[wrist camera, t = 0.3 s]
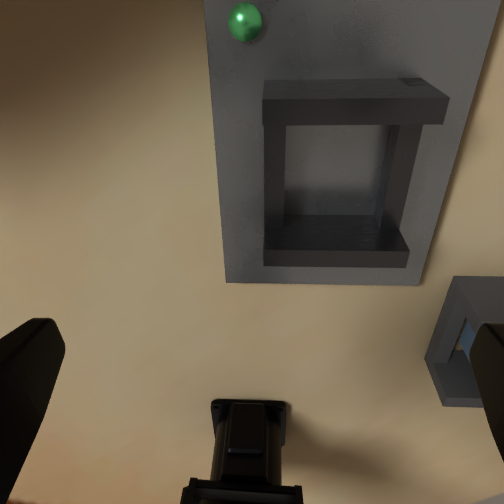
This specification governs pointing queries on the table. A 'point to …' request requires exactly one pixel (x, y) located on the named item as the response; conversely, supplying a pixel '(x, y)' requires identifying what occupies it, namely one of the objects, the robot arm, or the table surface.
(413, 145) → the port
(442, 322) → the holster
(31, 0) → the table surface
